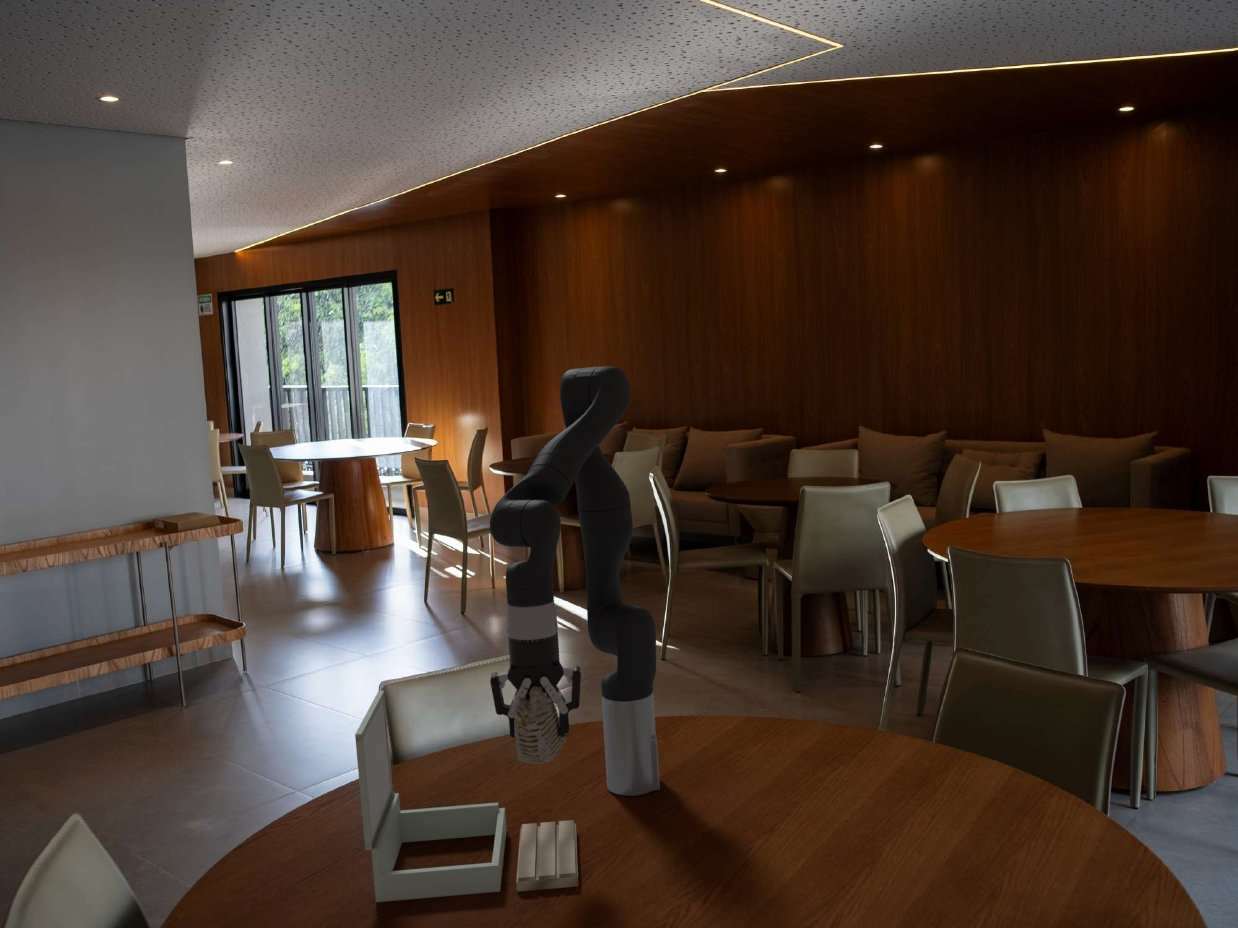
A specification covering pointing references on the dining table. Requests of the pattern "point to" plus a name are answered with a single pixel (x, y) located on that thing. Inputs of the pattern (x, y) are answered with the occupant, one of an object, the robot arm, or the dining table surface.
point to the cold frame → (417, 826)
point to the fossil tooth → (537, 728)
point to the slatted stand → (547, 856)
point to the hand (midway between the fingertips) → (540, 736)
